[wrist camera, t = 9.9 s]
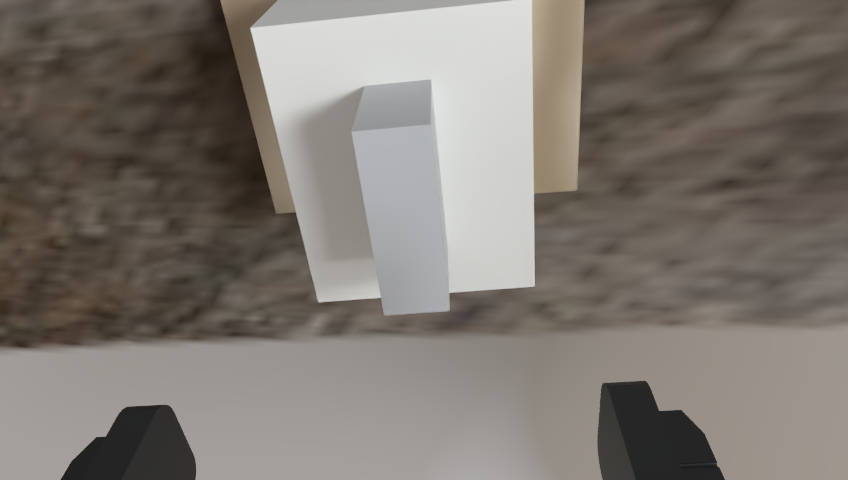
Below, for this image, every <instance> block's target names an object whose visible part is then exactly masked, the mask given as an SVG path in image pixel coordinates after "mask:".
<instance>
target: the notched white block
mask: <svg viewBox="0 0 848 480" xmlns="http://www.w3.org/2000/svg"><path fill="white" fill-rule="evenodd" d="M250 29H251V33H252V37H253V41H254V45H255V49H256V53H257V58H258V62H259V66H260V70H261V74H262V78H263V82H264V86H265V90H266V94H267V98H268V102H269V106H270V110H271V114H272V118H273V122H274V126H275V130H276V134H277V138H278V142H279V146H280V150H281V154H282V158H283V162H284V166H285V170H286V174H287V178H288V182H289V186H290V190H291V194H292V198H293V202H294V206H295V210H296V214H297V218H298V222H299V226H300V230H301V234H302V238H303V242H304V247H305V251H306V255H307V259H308V263H309V267H310V271H311V275H312V279H313V283H314V287H315V291H316V295H317V299H318V302H330V301H344V300H357V299H371V298H381V301H382V306H383V312H384V316H385V315H400V314H414V313H428V312H442V311H450V302H449V293H453V292H467V291H481V290H495V289H508V288H522V287H535V259H534V156H533V54H532V0H278V1H277V2H276V3H275V4H274V5H273V6H272V7H271V8H270V9H269V10H268V11H267V12H266V13H265V14H264V15H263V16H262V17H261V18H260V19H259V20H258V21H257V22H256V23H255V24H254V25H253V26H252V27H251V28H250Z"/></svg>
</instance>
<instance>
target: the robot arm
mask: <svg viewBox="0 0 848 480" xmlns="http://www.w3.org/2000/svg"><path fill="white" fill-rule="evenodd" d="M598 456H599V464H600V469H601V474H602V478H603V480H725V479H724V477H723V475H722V472H721V470H720V468H719V467H717V461H716V459H715V457H714V454H713V452H712V450H711V448H710V446H709V443H708V441H707V439H706V437H705V434H704V433H703V432H702V431H701V430H700V429H699V428H698V427H697V426H696V425H695V424H694V423H693V422H692V421H691V420H690V419H689V418H688V417H687V416H686V415H685V414H684V413H683V412H682V410H675V411H659V410H658V407H657V405H656V402H655V399H654V396H653V394H652V391H651V389H650V387H649V385H648V383H647V382H646V381H636V382H617V383H603V385H602V389H601V399H600V413H599V427H598ZM195 477H196V463H195V458H194V455H193V453H192V451H191V448H190V446H189V444H188V442H187V440H186V437H185V435H184V433H183V431H182V429H181V426H180V424H179V422H178V420H177V418H176V415H175V413H174V411H173V410H172V408H171V407H170V406H168V405H153V406H136V407H135V406H134V407H126V408H125V409H123V410H122V411H121V412H120V413H119V415H118V417H117V418H116V420H115V422H114V423H113V425H112V427H111V429H110V431H109V432H108V434H107V436H106V437H96V438H95V439H94V440H93V441H92V442H91V443H90V444H89V445H88V446H87V447H86V448H85V449H84V450H83V451H82V452H81V453H80V454H79V455H78V456H77V457H76V458H75V459H74V460H73V461H72V462H71V463H70V465H69V467H68V468H67V470H66V472H65V473H64V475H63V477H62V478H61V480H195Z"/></svg>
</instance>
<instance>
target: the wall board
mask: <svg viewBox="0 0 848 480" xmlns="http://www.w3.org/2000/svg"><path fill="white" fill-rule="evenodd" d="M220 1H221V5H222V9H223V12H224V16H225V20H226V24H227V28H228V32H229V35H230V39H231V43H232V47H233V51H234V55H235V58H236V62H237V66H238V70H239V74H240V77H241V81H242V85H243V89H244V93H245V97H246V100H247V104H248V108H249V112H250V116H251V120H252V123H253V127H254V131H255V135H256V139H257V143H258V146H259V150H260V154H261V158H262V162H263V165H264V169H265V173H266V177H267V181H268V185H269V188H270V192H271V196H272V200H273V204H274V208H275V211H276V214H279V213H292V212H296V210H295V206H294V202H293V198H292V194H291V190H290V186H289V182H288V178H287V174H286V170H285V166H284V162H283V158H282V154H281V150H280V146H279V142H278V138H277V134H276V130H275V126H274V122H273V118H272V114H271V110H270V106H269V102H268V98H267V94H266V90H265V86H264V82H263V78H262V74H261V70H260V66H259V62H258V58H257V53H256V49H255V45H254V41H253V37H252V33H251V29H250V28H251V27H252V26H253V25H254V24H255V23H256V22H257V21H258V20H259V19H260V18H261V17H262V16H263V15H264V14H265V13H266V12H267V11H268V10H269V9H270V8H271V7H272V6H273V5H274V4H275V3H276V2H277V1H278V0H220ZM584 2H585V0H532V54H533V156H534V194H537V193H550V192H563V191H576V190H577V177H578V152H579V127H580V102H581V77H582V52H583V27H584Z"/></svg>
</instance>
